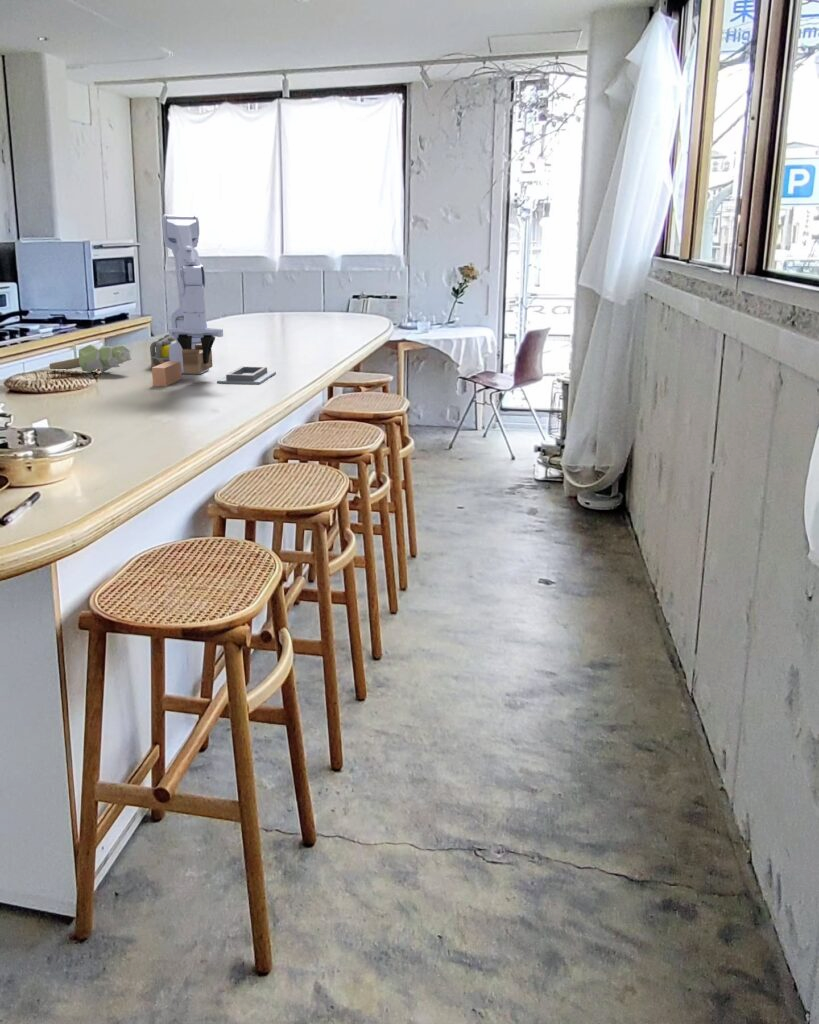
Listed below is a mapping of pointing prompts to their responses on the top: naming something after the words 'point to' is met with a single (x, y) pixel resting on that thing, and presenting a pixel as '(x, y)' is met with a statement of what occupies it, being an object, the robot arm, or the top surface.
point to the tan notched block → (195, 360)
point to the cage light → (160, 350)
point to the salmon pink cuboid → (166, 373)
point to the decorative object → (95, 359)
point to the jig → (247, 375)
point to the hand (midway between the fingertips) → (198, 362)
